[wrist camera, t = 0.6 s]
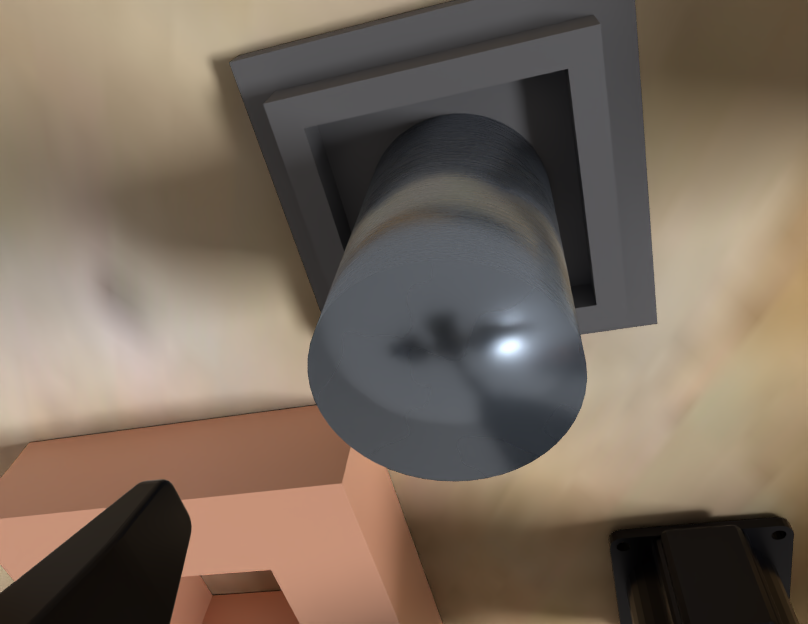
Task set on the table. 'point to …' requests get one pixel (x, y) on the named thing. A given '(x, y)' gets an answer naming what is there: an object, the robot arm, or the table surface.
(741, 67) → the table surface
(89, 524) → the robot arm
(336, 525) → the hub block
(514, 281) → the steel peg
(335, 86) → the stand
